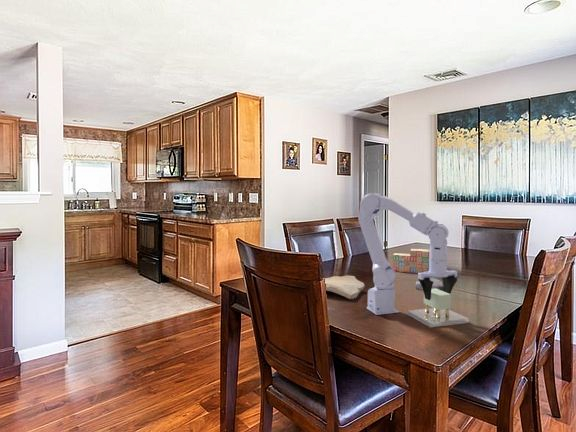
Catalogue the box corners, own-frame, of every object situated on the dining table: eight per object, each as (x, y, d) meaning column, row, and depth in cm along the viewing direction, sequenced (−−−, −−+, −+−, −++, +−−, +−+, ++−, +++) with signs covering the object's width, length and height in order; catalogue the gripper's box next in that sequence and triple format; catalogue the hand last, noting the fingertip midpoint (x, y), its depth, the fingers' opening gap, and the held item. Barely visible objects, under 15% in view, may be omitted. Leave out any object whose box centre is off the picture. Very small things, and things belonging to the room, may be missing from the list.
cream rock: (318, 286, 180) (298, 292, 163) (320, 270, 180) (300, 275, 163) (367, 294, 167) (351, 302, 150) (368, 278, 167) (352, 283, 150)
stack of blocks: (392, 271, 206) (392, 249, 205) (394, 269, 212) (394, 247, 211) (434, 274, 198) (434, 251, 197) (434, 272, 203) (434, 249, 202)
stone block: (443, 290, 173) (421, 283, 179) (445, 281, 172) (423, 274, 178) (435, 297, 164) (413, 289, 169) (437, 287, 163) (415, 279, 168)
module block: (438, 310, 126) (438, 295, 125) (423, 303, 133) (423, 289, 133) (450, 308, 127) (451, 294, 127) (435, 302, 135) (435, 288, 134)
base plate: (430, 327, 122) (430, 314, 122) (407, 314, 135) (407, 302, 134) (468, 322, 126) (468, 309, 126) (442, 310, 139) (443, 298, 138)
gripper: (427, 263, 123) (426, 303, 124) (464, 260, 127) (462, 299, 128) (414, 259, 130) (413, 297, 131) (449, 256, 134) (448, 294, 135)
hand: (437, 298), depth 130 cm, fingers open, 7 cm apart
